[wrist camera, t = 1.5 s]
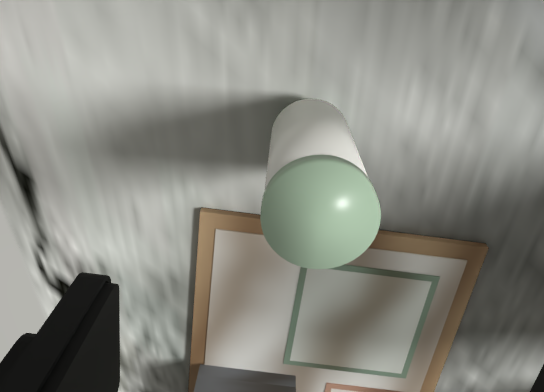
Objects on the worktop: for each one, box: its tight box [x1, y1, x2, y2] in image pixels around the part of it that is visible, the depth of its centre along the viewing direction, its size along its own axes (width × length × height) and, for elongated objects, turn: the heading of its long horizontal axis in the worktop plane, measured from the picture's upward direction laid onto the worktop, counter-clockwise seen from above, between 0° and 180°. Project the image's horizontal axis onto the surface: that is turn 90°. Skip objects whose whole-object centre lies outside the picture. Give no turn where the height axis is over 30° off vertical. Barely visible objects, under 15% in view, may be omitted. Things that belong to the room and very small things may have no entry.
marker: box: [260, 99, 381, 269], centre depth 20 cm, size 4×4×10 cm
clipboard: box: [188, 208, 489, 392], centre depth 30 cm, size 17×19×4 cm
